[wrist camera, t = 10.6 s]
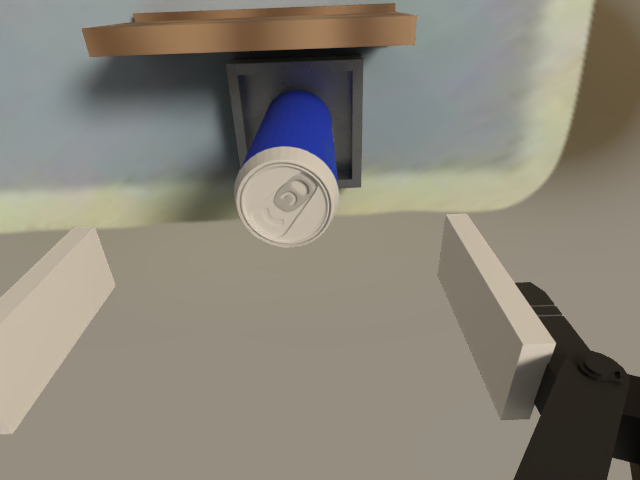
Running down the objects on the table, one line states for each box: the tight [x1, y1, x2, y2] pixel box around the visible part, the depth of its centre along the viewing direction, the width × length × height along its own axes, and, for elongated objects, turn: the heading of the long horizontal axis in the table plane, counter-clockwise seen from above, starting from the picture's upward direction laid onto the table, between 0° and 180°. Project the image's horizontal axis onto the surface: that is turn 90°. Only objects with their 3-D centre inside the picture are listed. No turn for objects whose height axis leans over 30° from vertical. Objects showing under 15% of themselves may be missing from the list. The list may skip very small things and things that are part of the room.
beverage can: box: [234, 90, 339, 248], centre depth 26 cm, size 5×5×15 cm
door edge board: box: [82, 3, 417, 57], centre depth 26 cm, size 18×2×8 cm, turn 92°
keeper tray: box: [226, 55, 363, 188], centre depth 32 cm, size 9×9×2 cm
